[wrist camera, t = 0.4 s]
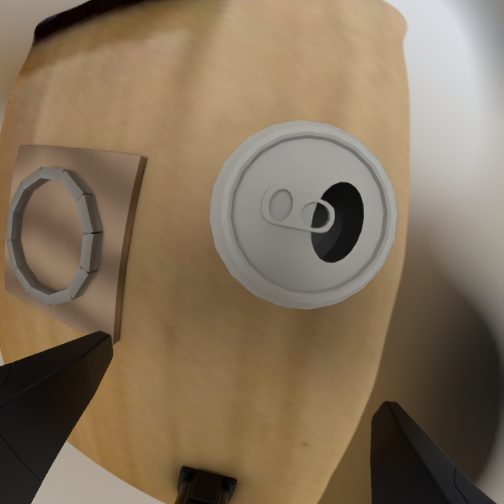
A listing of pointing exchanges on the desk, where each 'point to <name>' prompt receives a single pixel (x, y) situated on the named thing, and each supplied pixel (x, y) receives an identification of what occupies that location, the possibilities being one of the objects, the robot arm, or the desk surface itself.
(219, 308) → the desk surface
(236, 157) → the can
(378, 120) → the desk surface
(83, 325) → the collar board
